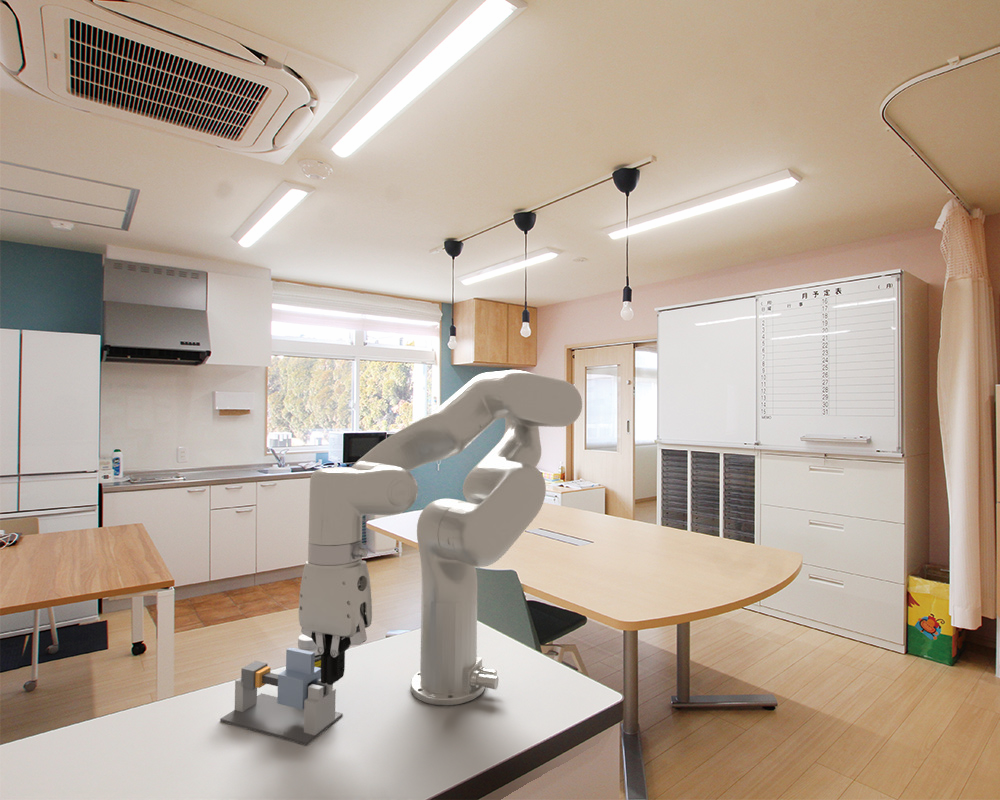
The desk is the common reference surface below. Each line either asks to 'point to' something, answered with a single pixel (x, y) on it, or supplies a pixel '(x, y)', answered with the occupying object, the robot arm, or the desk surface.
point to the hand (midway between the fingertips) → (332, 679)
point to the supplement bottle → (309, 648)
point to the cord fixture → (281, 707)
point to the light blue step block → (297, 677)
